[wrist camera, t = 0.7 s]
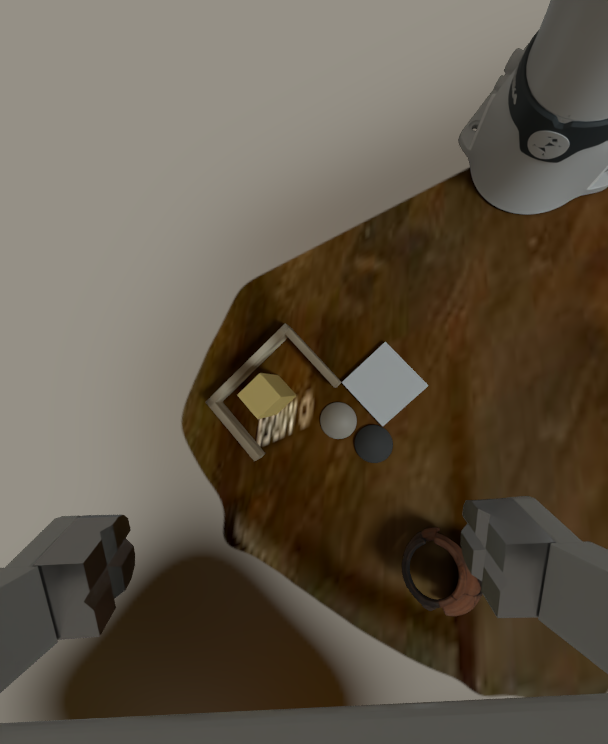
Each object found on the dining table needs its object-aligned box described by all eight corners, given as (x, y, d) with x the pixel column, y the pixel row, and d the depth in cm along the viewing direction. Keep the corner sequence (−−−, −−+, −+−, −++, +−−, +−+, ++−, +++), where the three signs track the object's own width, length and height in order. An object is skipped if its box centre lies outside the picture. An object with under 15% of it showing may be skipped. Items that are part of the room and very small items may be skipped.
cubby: (289, 326, 52) (285, 323, 49) (341, 382, 50) (339, 382, 47) (213, 401, 54) (205, 402, 51) (260, 458, 52) (254, 461, 49)
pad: (385, 342, 49) (385, 341, 48) (427, 385, 47) (428, 385, 47) (342, 382, 50) (341, 382, 49) (382, 426, 48) (382, 426, 48)
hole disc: (365, 418, 49) (365, 418, 48) (399, 436, 48) (399, 436, 47) (348, 450, 49) (348, 451, 49) (382, 469, 48) (382, 469, 48)
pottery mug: (429, 614, 46) (407, 624, 40) (408, 535, 51) (385, 533, 45) (529, 603, 41) (522, 613, 35) (496, 517, 46) (483, 512, 40)
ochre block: (278, 375, 52) (259, 372, 44) (296, 395, 51) (281, 397, 43) (258, 393, 52) (237, 395, 44) (276, 414, 51) (257, 419, 44)
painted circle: (330, 395, 50) (330, 396, 50) (362, 413, 49) (362, 413, 49) (314, 427, 50) (314, 427, 50) (346, 445, 49) (346, 445, 49)
